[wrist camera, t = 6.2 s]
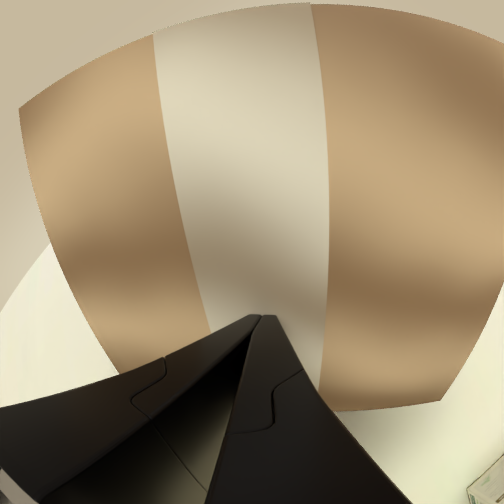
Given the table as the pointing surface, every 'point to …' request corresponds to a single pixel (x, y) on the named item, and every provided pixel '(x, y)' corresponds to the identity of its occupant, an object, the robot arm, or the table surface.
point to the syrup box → (489, 486)
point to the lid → (284, 191)
